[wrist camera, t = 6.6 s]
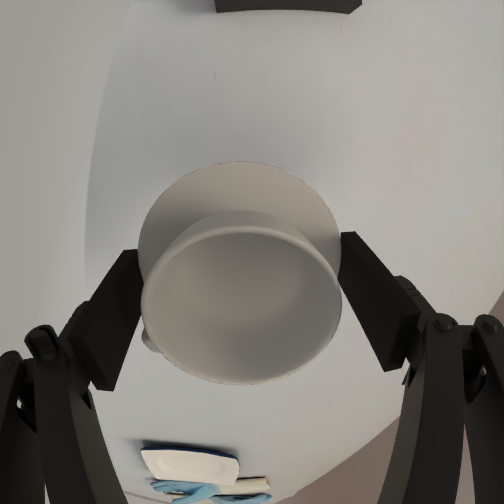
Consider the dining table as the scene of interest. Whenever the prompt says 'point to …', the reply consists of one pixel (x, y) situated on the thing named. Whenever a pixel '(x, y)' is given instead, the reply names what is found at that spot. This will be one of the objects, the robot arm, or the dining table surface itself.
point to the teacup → (239, 274)
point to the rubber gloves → (214, 491)
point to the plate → (191, 465)
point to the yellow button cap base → (288, 5)
